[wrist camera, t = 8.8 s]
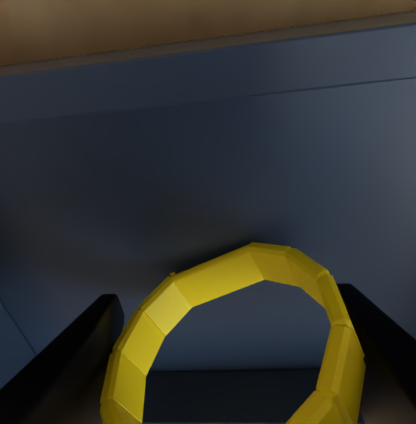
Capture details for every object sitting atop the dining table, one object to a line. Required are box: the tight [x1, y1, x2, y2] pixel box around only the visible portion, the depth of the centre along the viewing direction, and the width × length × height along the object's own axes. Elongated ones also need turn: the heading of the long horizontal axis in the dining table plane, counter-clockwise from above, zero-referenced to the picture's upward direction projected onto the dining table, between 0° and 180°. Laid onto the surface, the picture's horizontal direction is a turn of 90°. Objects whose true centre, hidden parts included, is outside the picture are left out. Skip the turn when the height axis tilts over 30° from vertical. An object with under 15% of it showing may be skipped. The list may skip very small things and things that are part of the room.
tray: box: [0, 11, 416, 424], centre depth 9 cm, size 18×13×2 cm
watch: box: [99, 242, 366, 424], centre depth 8 cm, size 6×3×6 cm, turn 117°
